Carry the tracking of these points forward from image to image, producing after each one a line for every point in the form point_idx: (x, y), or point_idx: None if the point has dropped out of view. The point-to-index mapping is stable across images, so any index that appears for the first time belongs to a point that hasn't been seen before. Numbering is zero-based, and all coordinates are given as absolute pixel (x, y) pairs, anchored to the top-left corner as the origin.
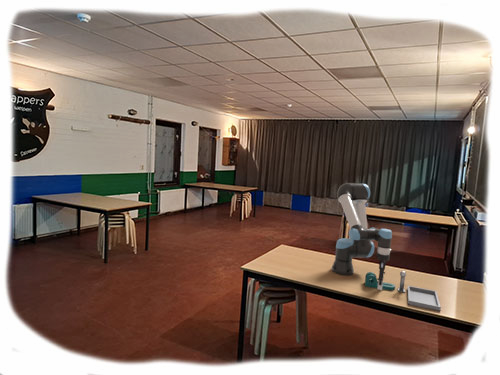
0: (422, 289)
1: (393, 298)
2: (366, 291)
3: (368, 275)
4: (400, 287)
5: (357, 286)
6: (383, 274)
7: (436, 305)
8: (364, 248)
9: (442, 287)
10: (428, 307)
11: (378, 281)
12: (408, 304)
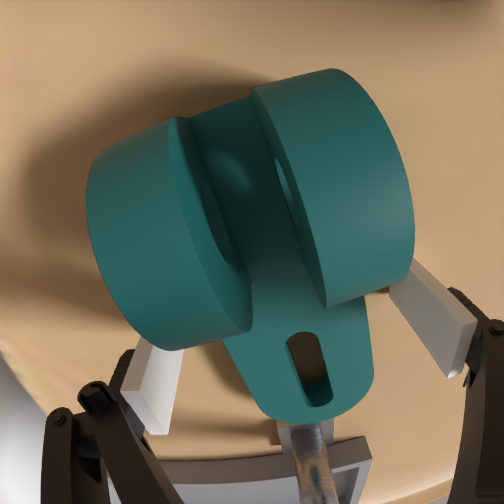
0: (352, 489)
1: None
2: (26, 209)
3: (140, 185)
4: (295, 453)
5: (76, 67)
6: (447, 372)
7: None
8: None
9: (448, 467)
10: None
11: (131, 370)
12: None
